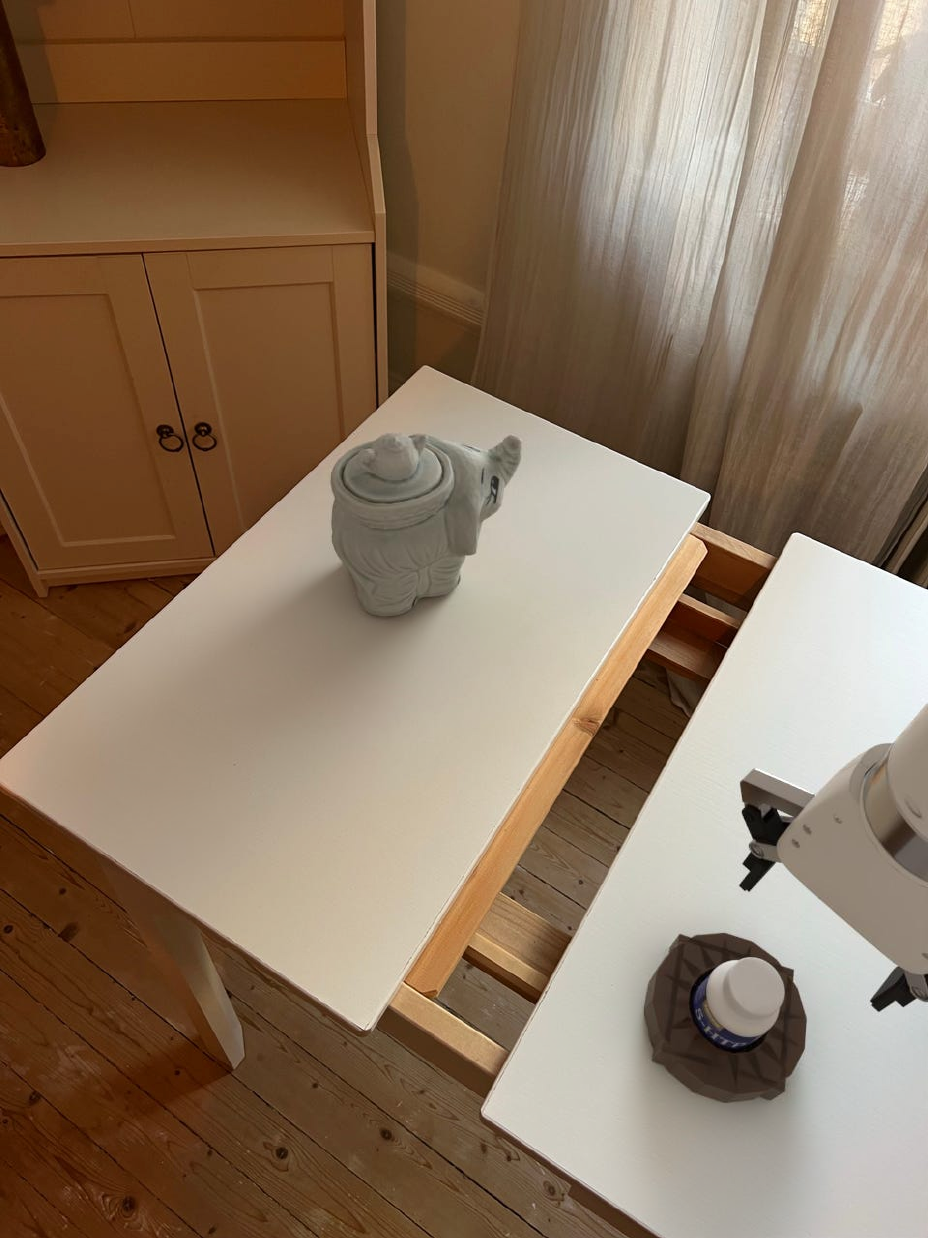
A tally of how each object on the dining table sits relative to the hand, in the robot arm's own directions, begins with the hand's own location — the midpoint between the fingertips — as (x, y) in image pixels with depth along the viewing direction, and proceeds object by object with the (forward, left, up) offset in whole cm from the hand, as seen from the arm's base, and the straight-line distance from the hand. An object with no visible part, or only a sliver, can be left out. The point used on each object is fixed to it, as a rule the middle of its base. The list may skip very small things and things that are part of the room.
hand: (819, 931), depth 59 cm
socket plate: (+1, 0, -19) cm, 19 cm away
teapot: (-12, -49, -19) cm, 53 cm away
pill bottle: (+1, 0, -19) cm, 19 cm away
